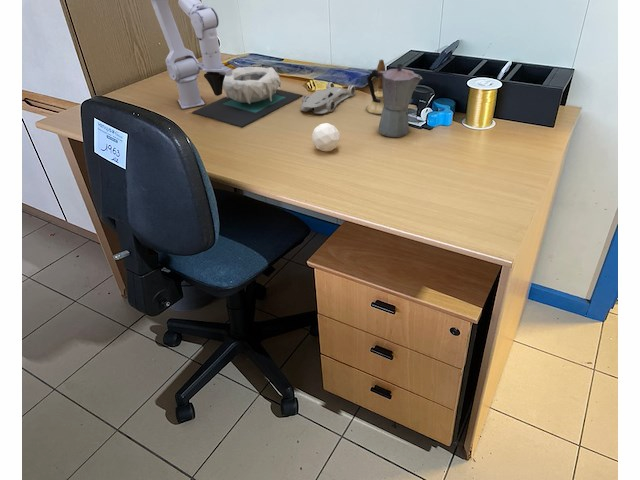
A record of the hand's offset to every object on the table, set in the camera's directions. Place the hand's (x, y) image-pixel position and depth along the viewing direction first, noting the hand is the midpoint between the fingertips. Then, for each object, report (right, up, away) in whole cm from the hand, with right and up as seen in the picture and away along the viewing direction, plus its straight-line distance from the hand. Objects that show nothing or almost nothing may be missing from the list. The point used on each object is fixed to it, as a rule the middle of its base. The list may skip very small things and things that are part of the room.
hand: (218, 94), depth 156 cm
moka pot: (+55, -15, -12) cm, 58 cm away
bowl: (+9, +2, +14) cm, 17 cm away
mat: (+8, 0, +12) cm, 14 cm away
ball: (+35, -22, -19) cm, 45 cm away
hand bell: (+53, -4, +2) cm, 53 cm away
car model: (+35, 0, +9) cm, 37 cm away
